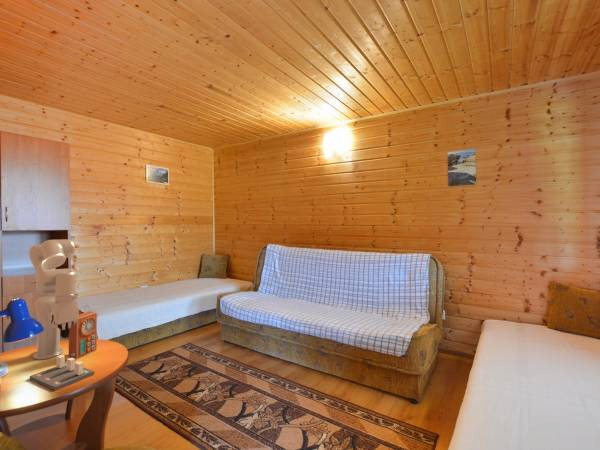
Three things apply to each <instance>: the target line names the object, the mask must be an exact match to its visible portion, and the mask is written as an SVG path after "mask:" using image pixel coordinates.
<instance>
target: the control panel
mask: <svg viewBox="0 0 600 450" xmlns="http://www.w3.org/2000/svg"><path fill="white" fill-rule="evenodd" d="M97 342H98V312H97V311H92V310H90V311H86V312H83V313H79V317H78V322H76V323H73V325H72V326H71V328H70V334H69V337H68V359H69V358H74V359H75V360H78V359H81V358H83V357H85V356H87V355H89V354H91V353H93V352H95V351H97V349H98V348H97V347H98V343H97Z"/></svg>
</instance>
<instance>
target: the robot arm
mask: <svg viewBox="0 0 600 450" xmlns="http://www.w3.org/2000/svg"><path fill="white" fill-rule="evenodd" d="M28 250H29V251H28V252H29V260H30V261H31V264H32V266H33V268H34V270H35V276H36V289H37V292H38V293H39V295H40V294H41V295H46V296H41V297H39V298H37V299H36V301H35V303H34V309H35V313H36V314H35V315H36V322H37V321H39V322H40V323H41V324H42V326H43V327H44V331H43V332H42V333H41V334H39V335H37V334H36V347H35V348H36V352H35V353H33V355H32V358H33V360H47V359H48V360H49V359H51V358H57V356H60V355H63V353H64V349H63V348H61V346H60V345H61V342H60V341H61V338H62V339H67V338H68V339H69V334H70V328H71V326H72V325H73V323H76V322H78V317H79V314H80V309H79V302H78V299H76V298H77V297H79V293H78V292H77V293H76V289H77V288H76V287H77V285H76V281H77V280H76V279H77V273H76V271H75V270H74V269H73V268H59V269H56V268H58V267H61V266H62V265H64V264H65V262H66V260H67V259H68V258H69V257H71V256H73V255H74V253H75V251H76V245H75V243H74V241H73V240H71V239H48V240H45V241H43V242H42V243H41V244H34V245H33V246H30V248H29V249H28ZM49 294H52V295H49Z"/></svg>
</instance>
